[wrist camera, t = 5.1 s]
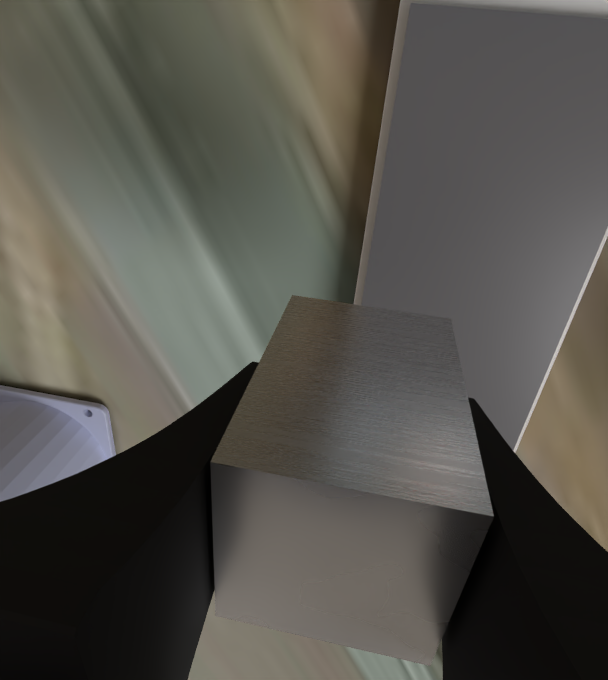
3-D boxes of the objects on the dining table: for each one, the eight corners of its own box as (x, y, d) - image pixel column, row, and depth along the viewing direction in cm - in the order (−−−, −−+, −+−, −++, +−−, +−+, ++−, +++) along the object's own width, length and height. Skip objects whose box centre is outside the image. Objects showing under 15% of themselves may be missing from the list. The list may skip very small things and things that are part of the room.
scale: (331, 450, 24) (321, 504, 21) (434, -214, 12) (446, -311, 9) (491, 481, 23) (505, 541, 20) (771, -204, 11) (909, -307, 8)
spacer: (283, 416, 14) (215, 616, 9) (292, 295, 12) (210, 462, 7) (418, 440, 13) (430, 665, 8) (450, 318, 11) (493, 516, 6)
